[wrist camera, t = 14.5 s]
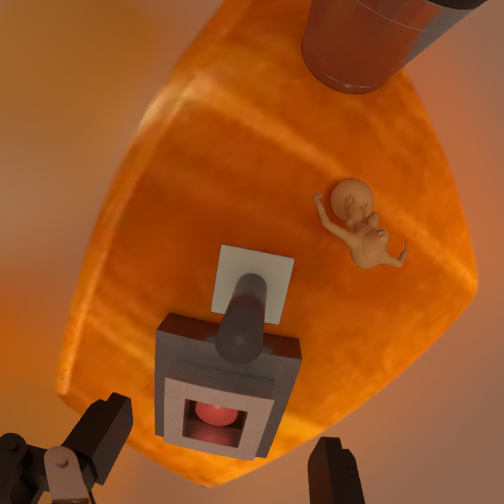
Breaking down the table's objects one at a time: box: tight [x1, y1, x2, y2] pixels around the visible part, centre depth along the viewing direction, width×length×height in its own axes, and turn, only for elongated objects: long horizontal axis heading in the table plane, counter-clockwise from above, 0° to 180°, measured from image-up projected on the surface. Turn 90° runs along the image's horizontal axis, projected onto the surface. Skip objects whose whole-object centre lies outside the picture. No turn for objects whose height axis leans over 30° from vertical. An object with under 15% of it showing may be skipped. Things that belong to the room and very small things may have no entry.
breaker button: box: [195, 401, 238, 426], centre depth 29 cm, size 4×4×4 cm
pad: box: [211, 244, 295, 325], centre depth 29 cm, size 7×7×1 cm
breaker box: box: [155, 313, 302, 461], centre depth 29 cm, size 16×14×7 cm
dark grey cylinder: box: [215, 273, 267, 365], centre depth 23 cm, size 3×3×11 cm
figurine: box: [312, 179, 408, 269], centre depth 21 cm, size 8×6×12 cm
